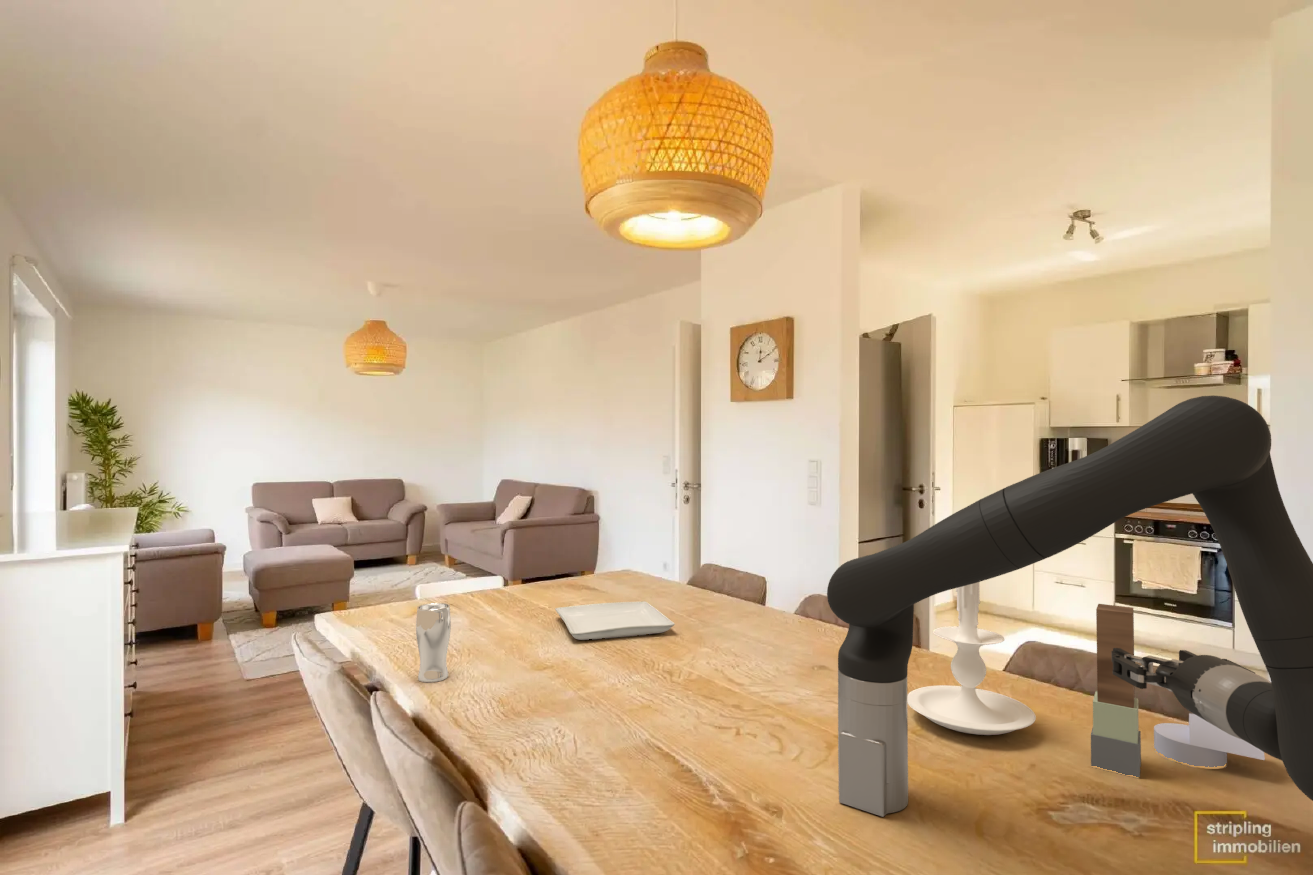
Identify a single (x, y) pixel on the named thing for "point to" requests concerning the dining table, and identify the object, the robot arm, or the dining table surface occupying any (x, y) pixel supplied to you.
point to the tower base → (1116, 754)
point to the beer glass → (433, 640)
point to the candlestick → (970, 681)
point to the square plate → (613, 620)
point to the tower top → (1115, 721)
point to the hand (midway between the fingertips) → (1148, 655)
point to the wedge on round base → (1200, 743)
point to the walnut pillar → (1112, 633)
